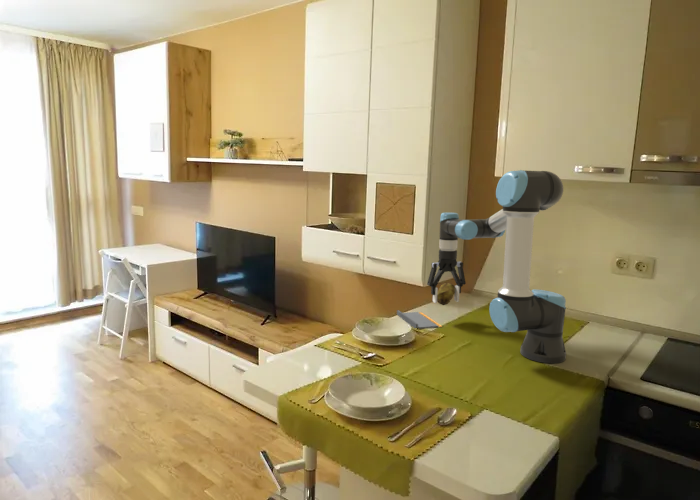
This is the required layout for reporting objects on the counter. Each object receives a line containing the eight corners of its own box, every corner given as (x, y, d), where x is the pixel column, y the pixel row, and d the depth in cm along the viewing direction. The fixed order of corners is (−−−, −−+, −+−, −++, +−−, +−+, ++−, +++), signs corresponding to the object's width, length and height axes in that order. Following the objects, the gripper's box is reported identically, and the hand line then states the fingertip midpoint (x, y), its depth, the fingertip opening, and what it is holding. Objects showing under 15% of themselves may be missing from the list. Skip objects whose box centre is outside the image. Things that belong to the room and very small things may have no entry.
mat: (437, 327, 210) (437, 322, 210) (415, 329, 207) (416, 324, 207) (417, 313, 229) (417, 308, 229) (396, 314, 226) (397, 310, 226)
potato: (429, 304, 215) (429, 285, 214) (443, 298, 225) (443, 280, 224) (446, 307, 210) (447, 288, 209) (460, 301, 220) (461, 283, 219)
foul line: (442, 326, 211) (442, 326, 211) (439, 327, 210) (439, 326, 210) (421, 312, 230) (421, 312, 229) (419, 313, 229) (419, 312, 229)
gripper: (466, 247, 221) (464, 298, 225) (419, 249, 215) (418, 301, 218) (476, 250, 214) (473, 302, 217) (427, 251, 208) (425, 305, 211)
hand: (445, 301), depth 218 cm, fingers closed on potato, 10 cm apart
